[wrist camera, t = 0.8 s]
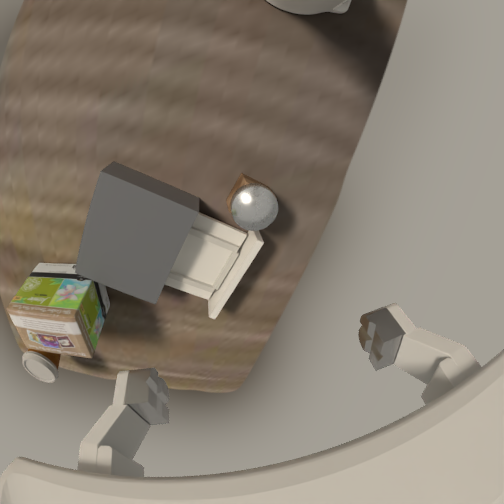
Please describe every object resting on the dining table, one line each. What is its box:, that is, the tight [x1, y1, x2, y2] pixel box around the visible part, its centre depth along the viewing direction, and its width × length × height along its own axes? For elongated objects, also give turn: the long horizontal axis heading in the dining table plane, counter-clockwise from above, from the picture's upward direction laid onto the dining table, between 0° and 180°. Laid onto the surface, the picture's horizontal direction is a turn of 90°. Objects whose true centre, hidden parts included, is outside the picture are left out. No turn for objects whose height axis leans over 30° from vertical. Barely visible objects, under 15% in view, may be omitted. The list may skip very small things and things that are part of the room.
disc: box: [230, 183, 278, 231], centre depth 38 cm, size 6×6×2 cm
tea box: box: [7, 263, 110, 358], centre depth 40 cm, size 15×10×15 cm, turn 84°
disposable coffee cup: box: [23, 349, 61, 383], centre depth 46 cm, size 10×10×12 cm
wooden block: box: [226, 173, 276, 213], centre depth 41 cm, size 5×5×5 cm
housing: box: [75, 162, 199, 304], centre depth 40 cm, size 18×15×6 cm
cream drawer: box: [165, 212, 264, 319], centre depth 45 cm, size 17×15×5 cm
